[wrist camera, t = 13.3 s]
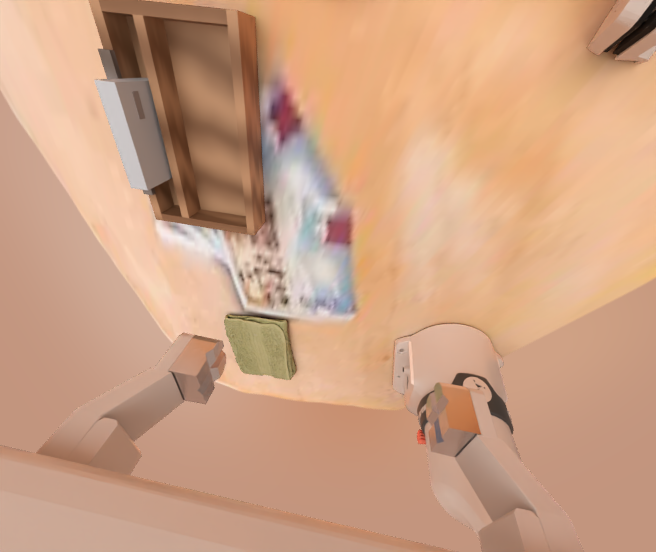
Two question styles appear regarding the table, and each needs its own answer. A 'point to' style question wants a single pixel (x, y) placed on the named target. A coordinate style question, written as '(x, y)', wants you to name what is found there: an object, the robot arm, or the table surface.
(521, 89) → the table surface
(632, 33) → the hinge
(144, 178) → the rectangular block
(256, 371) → the washcloth
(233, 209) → the wooden tray
